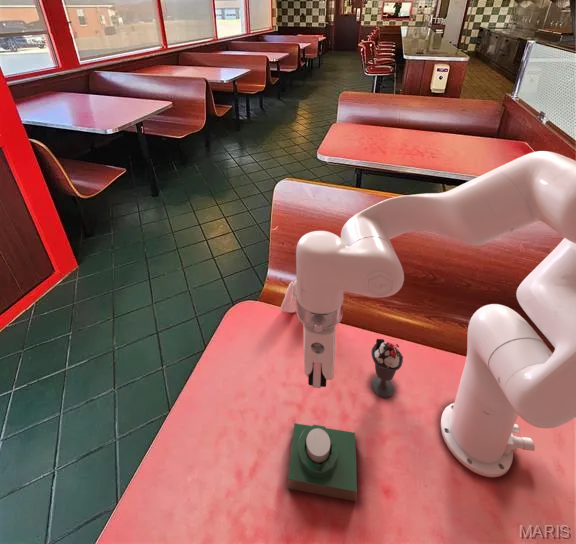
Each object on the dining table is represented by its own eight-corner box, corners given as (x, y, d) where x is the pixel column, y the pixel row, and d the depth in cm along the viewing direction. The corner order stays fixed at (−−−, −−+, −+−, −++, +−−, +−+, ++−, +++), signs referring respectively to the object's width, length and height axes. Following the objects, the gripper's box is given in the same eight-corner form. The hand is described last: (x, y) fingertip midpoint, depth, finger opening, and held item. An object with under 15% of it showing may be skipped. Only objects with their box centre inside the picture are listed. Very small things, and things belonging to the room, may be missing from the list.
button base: (353, 441, 66) (355, 426, 64) (355, 501, 57) (357, 485, 56) (294, 432, 67) (294, 416, 66) (288, 488, 59) (287, 472, 57)
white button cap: (330, 436, 63) (330, 430, 62) (329, 465, 59) (330, 458, 58) (307, 433, 63) (307, 426, 62) (305, 460, 59) (305, 454, 58)
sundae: (399, 404, 72) (407, 356, 67) (368, 398, 73) (373, 350, 68) (396, 375, 78) (403, 329, 73) (367, 370, 79) (372, 324, 74)
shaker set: (279, 316, 95) (279, 285, 91) (281, 304, 99) (281, 275, 95) (321, 319, 94) (322, 289, 90) (321, 308, 97) (322, 278, 93)
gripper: (344, 348, 46) (338, 430, 53) (341, 274, 60) (337, 347, 66) (291, 342, 47) (292, 424, 53) (300, 271, 61) (300, 343, 67)
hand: (317, 381), depth 60 cm, fingers closed
